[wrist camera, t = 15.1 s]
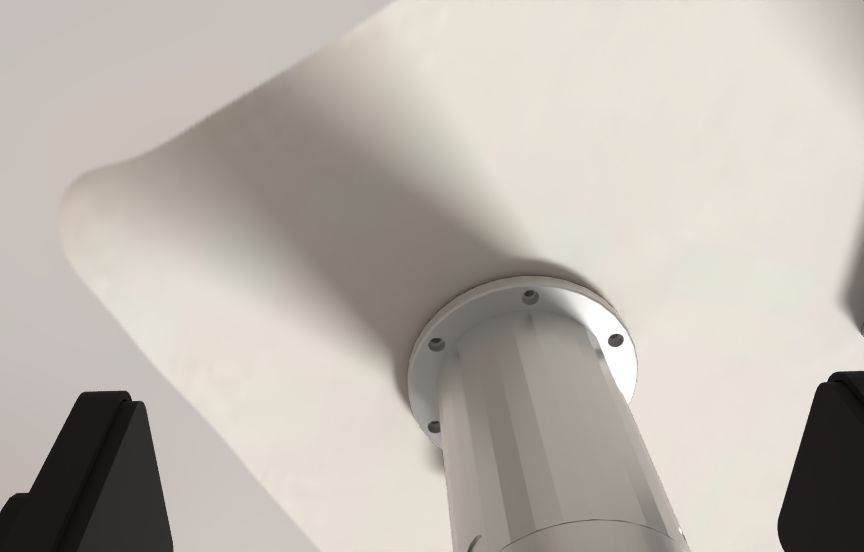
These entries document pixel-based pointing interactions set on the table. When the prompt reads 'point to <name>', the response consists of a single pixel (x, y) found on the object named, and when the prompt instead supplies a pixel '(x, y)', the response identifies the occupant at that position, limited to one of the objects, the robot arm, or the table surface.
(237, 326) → the table surface
